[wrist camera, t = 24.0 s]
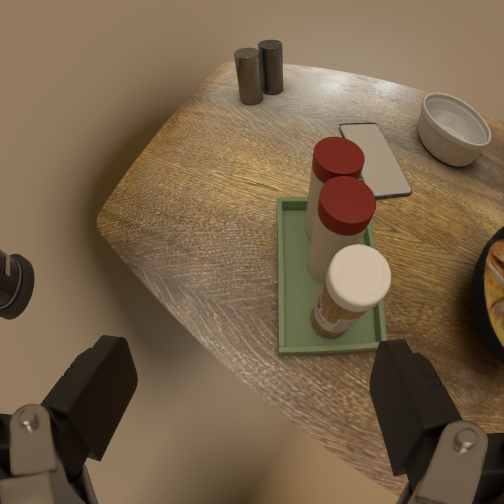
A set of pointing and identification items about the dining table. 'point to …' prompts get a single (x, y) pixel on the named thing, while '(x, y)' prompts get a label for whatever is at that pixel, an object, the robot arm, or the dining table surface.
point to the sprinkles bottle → (350, 289)
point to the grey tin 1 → (249, 75)
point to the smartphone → (377, 160)
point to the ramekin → (452, 129)
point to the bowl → (490, 295)
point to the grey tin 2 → (271, 66)
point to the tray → (313, 292)
